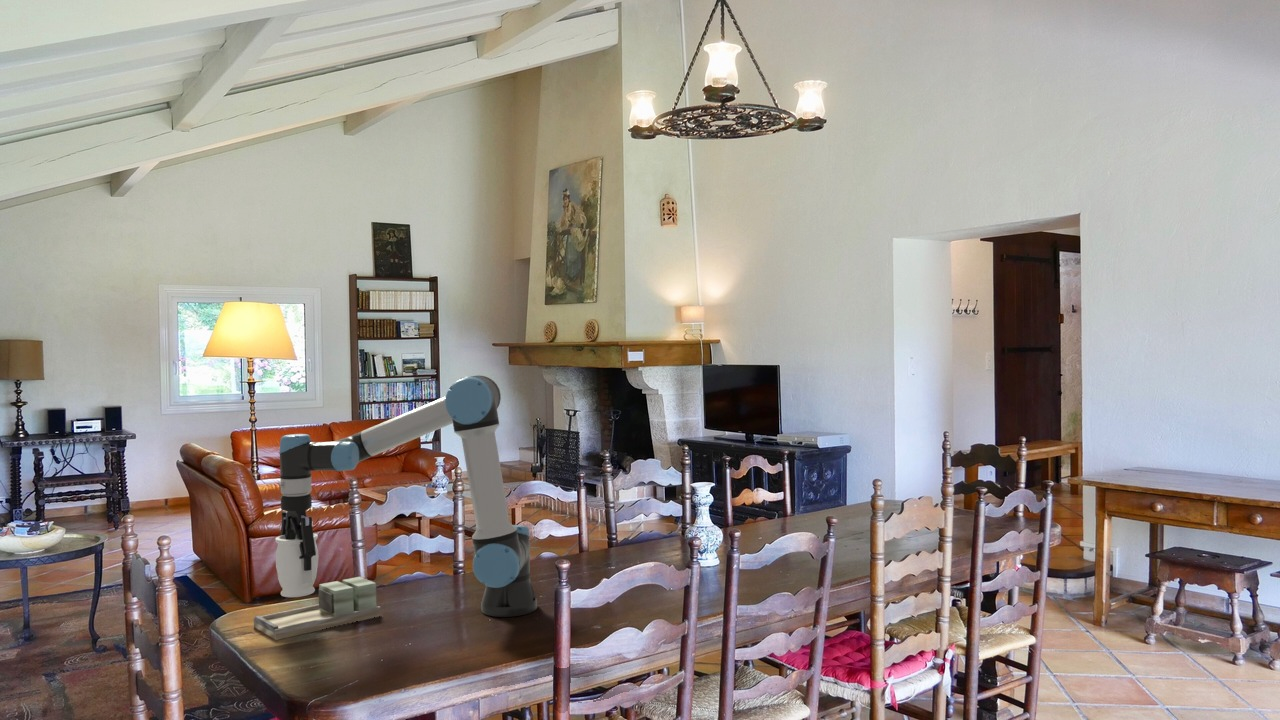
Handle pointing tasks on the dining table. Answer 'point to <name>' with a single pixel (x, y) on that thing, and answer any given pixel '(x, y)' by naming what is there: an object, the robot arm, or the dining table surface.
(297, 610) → the rail board
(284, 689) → the dining table surface
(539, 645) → the dining table surface
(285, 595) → the jar
